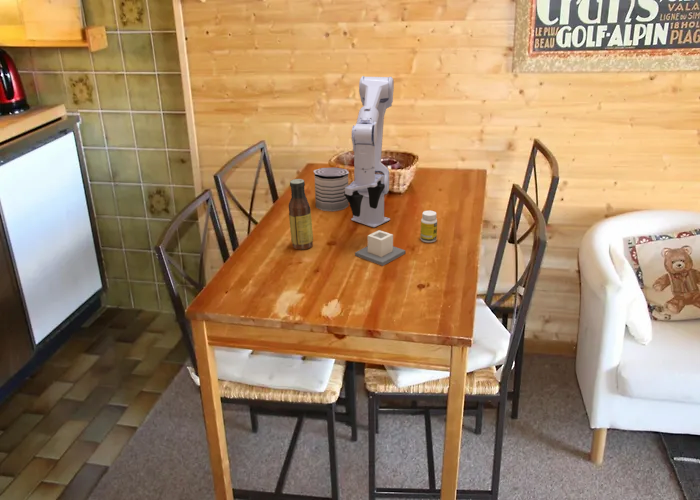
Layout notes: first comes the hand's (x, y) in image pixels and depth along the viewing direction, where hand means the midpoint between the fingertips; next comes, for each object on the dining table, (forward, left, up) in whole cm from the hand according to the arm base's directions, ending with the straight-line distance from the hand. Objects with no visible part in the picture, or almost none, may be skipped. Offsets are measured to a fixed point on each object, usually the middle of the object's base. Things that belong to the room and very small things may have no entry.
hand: (364, 211), depth 204 cm
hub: (+9, -4, -8) cm, 13 cm away
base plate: (+9, -4, -9) cm, 14 cm away
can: (-27, +15, -10) cm, 32 cm away
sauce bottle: (-12, -14, -10) cm, 21 cm away
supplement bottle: (+13, +13, -10) cm, 21 cm away
